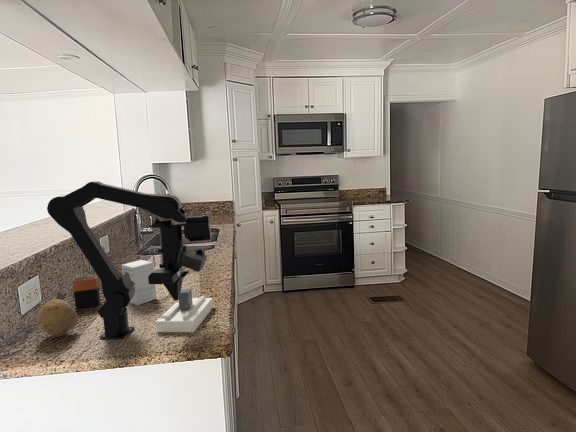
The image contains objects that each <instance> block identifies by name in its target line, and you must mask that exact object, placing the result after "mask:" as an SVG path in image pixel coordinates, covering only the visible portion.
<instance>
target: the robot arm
mask: <svg viewBox="0 0 576 432" xmlns="http://www.w3.org/2000/svg"><path fill="white" fill-rule="evenodd" d="M96 199H99V200H103V201H108V202H113V203H118V204H122V205H126V206H131V207H135V208H138V209H142V210H144V211H146V212H149V213H151V214H152V215H155V216H157V217H156V218H155V220H154V222H153V223H152V224H151V225H150V228H152V229H154V228H155V229H156V228H158V230H159V241H160V242H159V244H160V247H159V248H158V249H157V253H158V254H161V263H159V268H158V269H157V268H156V269H154V271H153V272H152V273H151V274H150V275H149V276H148V281H149V284H155V285H164V287H165V289H166V290H167V291H168V293H169V295H170V297H171V298H172V300H173V301H175V302H177V301H178V300H179V297H180V292H181V290H182V285H183V281H184V279H185V278H186V276H188V274H190V271H189V270H193V272H198V273H199V272H200V271H201V270H202V269H204V267H205V263H206V261H208V258H207V255H206V252H205V249H202V248H198V249H197V250H196V251H193V250H192V251H190V250H188V246H187V245H186V244H184V240H183V239H187V240H189V241H188V242H189V243H193V242H206V241H208V242H209V241H210V242H211V241H212V230H211V229H212V228H211V227H212V226H211V223H210V216H209V214H204V215H196V216H190V215H189V214H188V213H187V212H186V211H185V210H184V209H183V207H182V203H181V200H180V198H179V197H178V196H176V195H174V194H164V193H144V192H141V191H136V190H132V189H128V188H123V187H120V186H115V185H112V184H111V185H110V184H107V183H103V182H101V181H96V180H94V181H90V182H87V183H85V185H83V186H82V187H79V188H78V189H75V190H74V191H72V192H70V193H68V194H65V195H60V196H55V197H53V198H52V199H50V201H49V202H48V203H47V207H46V209H47V210H46V211H47V213H48V215H49V216H50V217H51V218H52V219H53V220H54V221H55V223H56V224H57V225H58V226H60V227H61V228H63V230H65V231H66V232H68V233H69V234H70V235H71V237H72V239H73V240H74V242H75V243H76V245H77V246H78V248H79V249H80V251H81V253H82V254H83V255H84V257H85V258H86V260H87V262H88V263H89V265H90V266H91V268H92V270H93V271H94V273H95V275H97V276H98V280H100V285H101V290H102V294H103V297H104V299H105V302H104V303H103V304H102V305H101V306H100V308H98V310H97V313H98V315H99V317H100V318H101V319H102V320H103V321H102V322H103V326H104V327H103V328H104V332H103V333H102V334H101V335H100V336H99V339H125V337H127V336H128V335H129V334H130V333H131V332H132V331H134V330H135V326H129V325H130V324H129V315H128V307H127V306H128V305H129V304H130V303H129V302H130V301H131V299H132V298H133V296H134V294H135V287H134V285H135V283H134V282H133V281H132V280H131V278H130V276H129V274H128V272H126V273H124V274H123V273H122V272H120V271H119V270H118V269H117V268H116V267H115V265H114V264H113V263H112V261H111V259H110V258H109V256H108V254H107V253H106V251H105V250H104V248H103V247H102V245H101V244H100V242H99V241H98V238H97V237H96V236H95V234H94V232H93V231H92V229H91V228H90V226H89V224H88V222H87V216H86V211H85V209H84V206H86V205H88V204H89V203H91V202H92V201H94V200H96ZM161 218H162V219H161ZM174 221H175V222H174ZM183 237H184V238H183ZM185 268H188V269H189V270H186V271H185Z"/></svg>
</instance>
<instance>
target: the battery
mask: <svg viewBox="0 0 576 432" xmlns="http://www.w3.org/2000/svg"><path fill="white" fill-rule="evenodd" d="M72 287H73V296H74V305H75V309H82V308H90V307H96V306H99V305H100V303H101V294H100V286H99V277H98V276H97V274H95V275H94V274H88V275H87V276H84V275H83V274H78V275H76V276H75V278H74V279H73V280H72Z"/></svg>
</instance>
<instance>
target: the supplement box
mask: <svg viewBox="0 0 576 432" xmlns="http://www.w3.org/2000/svg"><path fill="white" fill-rule="evenodd" d="M153 271H155V269H154V262H152V261H150V260H149V261H148V260H143V259H138V260H135V261H131V262H127V263H124V264H121V274H124V273H126V272H128V274H129V276H130V278H131V280H132V281H133V282H134V283H135V285H134V287H135V294H134V296H133V298H132V299H131V301H130V302H129V304H132V305H134V306H139V305H142V304H143V305H144V303H146V304H147V303H148V302H151V301H153V300H157V297H158V296H157V289H156V284H149V281H148V276H149V275H150V274H151V273H152V272H153Z"/></svg>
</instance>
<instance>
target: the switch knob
mask: <svg viewBox="0 0 576 432" xmlns="http://www.w3.org/2000/svg"><path fill="white" fill-rule="evenodd" d="M192 293H193V292H192V289H191V288H183V289H182V288H181V292H180V297H179V309H180V310H189V309H190V308H191V307H192V306H193V303H192V298H193V294H192Z"/></svg>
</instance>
